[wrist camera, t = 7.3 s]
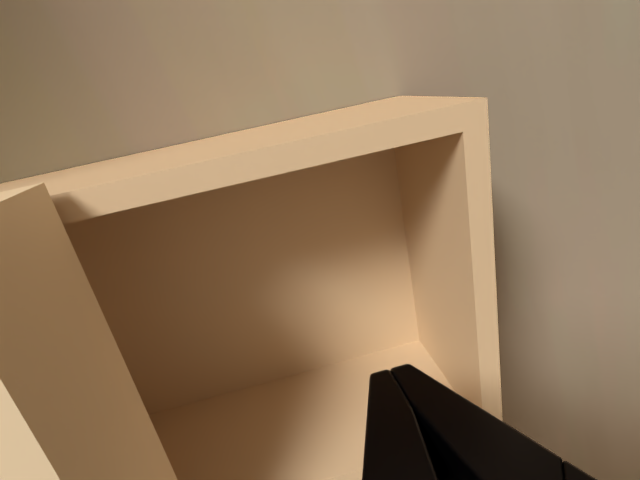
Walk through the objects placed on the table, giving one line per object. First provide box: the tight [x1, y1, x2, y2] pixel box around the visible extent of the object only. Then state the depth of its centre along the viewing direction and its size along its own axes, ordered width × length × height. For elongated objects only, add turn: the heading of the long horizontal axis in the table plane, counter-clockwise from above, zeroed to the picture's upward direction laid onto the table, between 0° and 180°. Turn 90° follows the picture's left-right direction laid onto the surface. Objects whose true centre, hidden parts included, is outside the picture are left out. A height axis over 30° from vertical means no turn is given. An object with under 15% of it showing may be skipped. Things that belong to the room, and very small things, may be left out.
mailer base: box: [0, 96, 503, 480], centre depth 13 cm, size 13×10×6 cm
